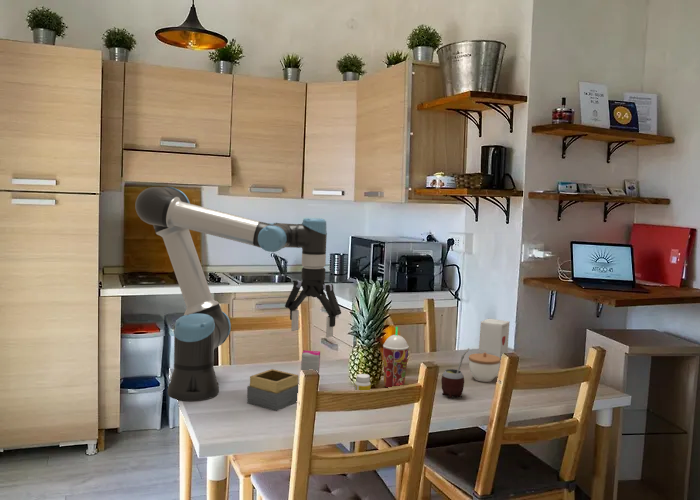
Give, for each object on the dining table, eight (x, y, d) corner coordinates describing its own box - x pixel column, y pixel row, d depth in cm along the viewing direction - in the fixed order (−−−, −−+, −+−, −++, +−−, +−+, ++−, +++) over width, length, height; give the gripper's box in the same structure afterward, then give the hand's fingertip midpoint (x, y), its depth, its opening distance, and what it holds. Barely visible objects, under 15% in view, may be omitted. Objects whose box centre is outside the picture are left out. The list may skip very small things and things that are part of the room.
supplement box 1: (318, 390, 199) (319, 355, 198) (299, 390, 199) (300, 354, 198) (319, 385, 205) (320, 350, 204) (301, 384, 205) (302, 349, 204)
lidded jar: (464, 380, 216) (466, 354, 215) (471, 373, 226) (472, 347, 225) (496, 385, 212) (498, 358, 211) (501, 377, 222) (503, 351, 221)
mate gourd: (438, 397, 197) (440, 350, 195) (444, 390, 204) (446, 345, 203) (462, 401, 194) (464, 353, 193) (467, 394, 201) (469, 348, 200)
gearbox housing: (247, 402, 185) (247, 376, 184) (271, 393, 194) (271, 368, 194) (276, 411, 179) (277, 383, 178) (299, 401, 188) (300, 375, 188)
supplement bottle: (373, 403, 189) (374, 376, 188) (362, 406, 186) (363, 379, 185) (361, 399, 192) (362, 372, 192) (350, 402, 189) (352, 375, 188)
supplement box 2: (499, 363, 241) (502, 324, 239) (477, 359, 245) (479, 321, 244) (507, 358, 248) (510, 321, 247) (486, 354, 253) (488, 317, 252)
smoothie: (407, 391, 202) (410, 330, 200) (381, 390, 202) (384, 329, 200) (405, 383, 210) (408, 324, 208) (380, 382, 210) (383, 323, 208)
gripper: (353, 269, 195) (351, 337, 197) (289, 262, 208) (288, 326, 210) (340, 272, 189) (337, 341, 190) (275, 264, 202) (273, 329, 204)
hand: (311, 333), depth 200 cm, fingers open, 13 cm apart
